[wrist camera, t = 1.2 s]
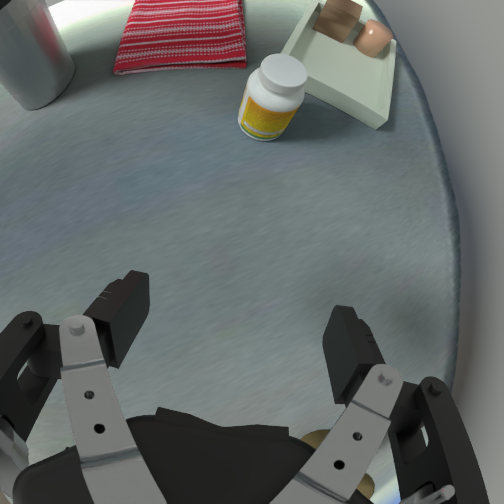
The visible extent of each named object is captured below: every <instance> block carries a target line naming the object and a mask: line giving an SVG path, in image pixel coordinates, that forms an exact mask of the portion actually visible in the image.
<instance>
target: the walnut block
mask: <svg viewBox="0 0 504 504" xmlns="http://www.w3.org/2000/svg"><path fill="white" fill-rule="evenodd" d="M362 7H363V6H361V5H359V4H357V3H355V2H353V1H351V0H327V1H326V3H325V5H324V7H323V9H322V11H321V13H320V14H319V16H318V18H317V20H316V22H315V24H314V26H313V28H312V29H313V30H315V31H317V32H319V33H321V34H324V35H326V36H328V37H330V38H332V39H334V40H336V41H338V42H340V43H342V44H343V42H344V41H345V39H346V38H347V36H348V35H349V33H350V32H351V30H352V29H353V27H354V26H355V25H356V23H357V22H358V20H359V18H360V15H361V11H362Z"/></svg>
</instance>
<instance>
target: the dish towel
mask: <svg viewBox="0 0 504 504" xmlns="http://www.w3.org/2000/svg"><path fill="white" fill-rule="evenodd" d="M244 24H245V22H244V12H243V5H242V0H135V3H134V5H133V8H132V12H131V14H130V15H129V18H128V21H127V24H126V26H125V30H124V32H123V35H122V38H121V42H120V46H119V48H118V53H117V56H116V59H115V65H114V69H113V73H114V74H117V75H124V74H131V73H140V72H148V71H159V70H173V69H197V68H241V69H244V68H246V64H247V62H246V57H247V55H246V42H245V38H246V37H245V34H246V33H245V26H244Z"/></svg>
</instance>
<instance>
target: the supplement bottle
mask: <svg viewBox="0 0 504 504" xmlns="http://www.w3.org/2000/svg"><path fill="white" fill-rule="evenodd" d="M307 78H308V72H307V69H306V67H305V66H304V65H303V64H302V63H301V62H300V61H299V60H298V59H296V58H294V57H292V56H289V55H286V54H272V55H269V56H267V57H266V58H265V59H264V60H263V61H262V63H261V66H260V68H258V69H256V70H255V71H254V72H253V73H252V74H251V75H250V77H249V79H248V81H247V84H246V88H245V91H244V95H243V99H242V102H241V105H240V109H239V113H238V123H239V125H240V127H241V129H242V131H244V132H245V133H246V134H247V135H248V136H250V137H251V138H253V139H256V140H260V141H270V140H274V139H276V138H277V137H279V136H280V135H281V134H282V133H283V131H284V130H285V128H286V127H287V125H288V124H289V122H290V120H291V119H292V117H293V116H294V114H295V112H296V111H297V110H298V108H299V107H300V105H301V104H302V101H303V99H304V96H305V89H304V84H305V82H306V81H307Z"/></svg>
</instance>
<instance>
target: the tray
mask: <svg viewBox="0 0 504 504" xmlns="http://www.w3.org/2000/svg"><path fill="white" fill-rule="evenodd" d="M324 5H325V2H323V1H321V0H312V2H311V4H310V5H309V7H308V8H307V10H306V11H305V13H304V15H303V16H302V18H301V20H300V21H299V23H298V24H297V26H296V28H295V29H294V31H293V33H292V34H291V36H290V38H289V40H288V41H287V43H286V45H285V46H284V48H283V50H282V52H281V53H280V54H286V55H289V56H292V57H294V58H296V59H298V60H299V61H300V62H301V63H302V64H303V65H304V66H305V67H306V69H307V72H308V78H307V81H306V82H305V84H304V89H305V92H306V93H308V94H310V95H312V96H314V97H316V98H318V99H320V100H322V101H324V102H326V103H328V104H330V105H332V106H334V107H336V108H338V109H340V110H341V111H343V112H345V113H347V114H349V115H350V116H352V117H354V118H356V119H358V120H359V121H361V122H363V123H364V124H366V125H368V126H369V127H371V128H373V129H374V130H376V129H378V128H379V127H380V126H381V125H383V124H384V123H385V122H386V121H388V116H389V109H390V102H391V94H392V85H393V76H394V65H395V52H396V41H395V40H393V39H392V40H391V41H390V42H389V43H388V44H387V45H386V46H385V48H384V49H383V50H382V51H381V52H380V53H379V54H378V56H377V57H374V58H372V57H368V56H366V55H364V54H362V53H361V52H360V51H359V50H358V49H357V48H356V47H355V46H354V43H353V41H354V39H355V38H356V36H357V35H358V33H359V32H360V31H361V29H362V28H363V27H364V25H365V24H366V23H365V22H363V21H362V20H360V19H359V20H358V22H357V23H356V25H355V26H354V27H353V29H352V30H351V32H350V33H349V35H348V36H347V38H346V39H345V41H344V42H343V44H342V43H340V42H338V41H336V40H334V39H332V38H330V37H328V36H326V35H324V34H321V33H319V32H317V31H315V30H313V29H312V28H313V26H314V24H315V22H316V20H317V18H318V16H319V14H320V13H321V11H322V9H323V7H324Z"/></svg>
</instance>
